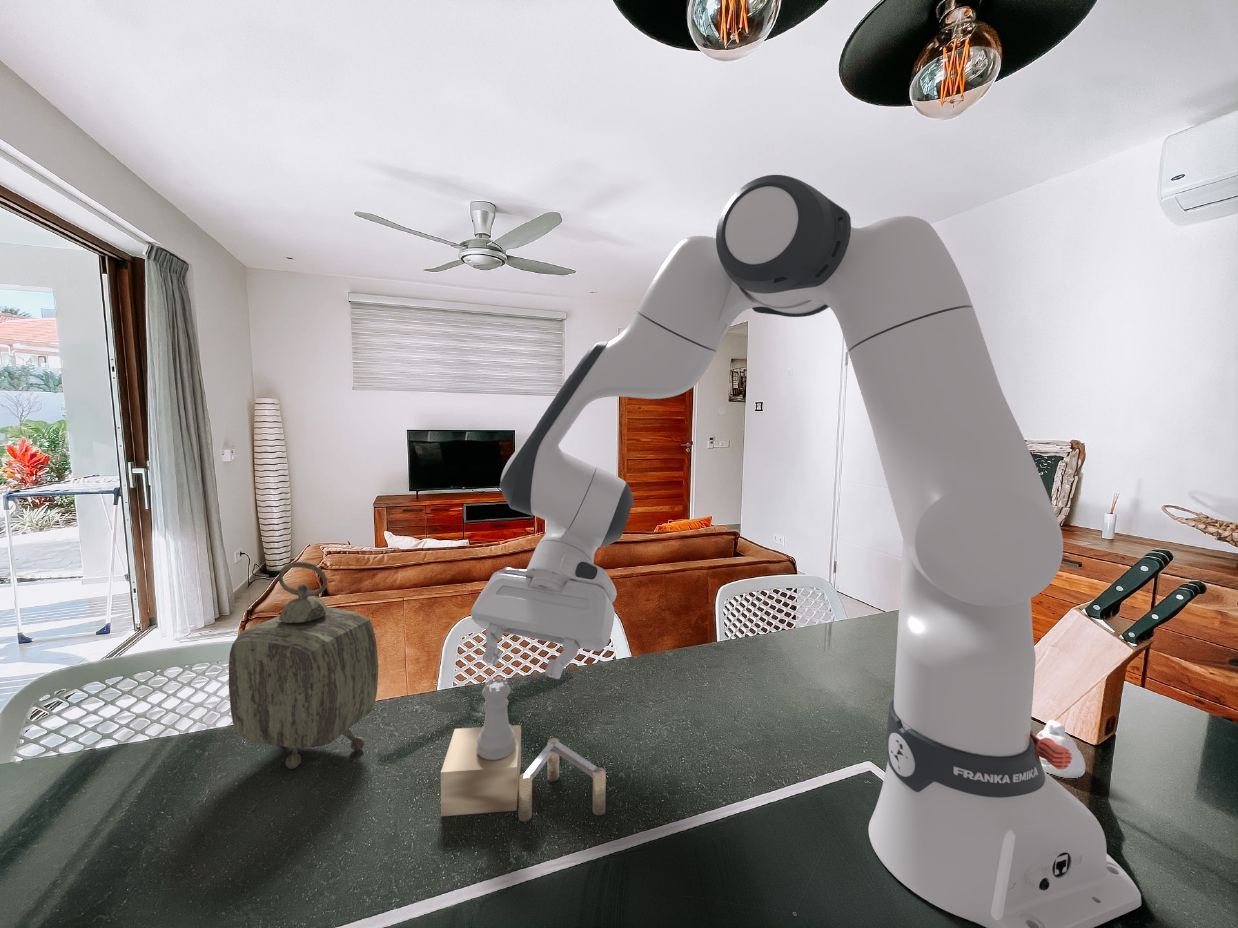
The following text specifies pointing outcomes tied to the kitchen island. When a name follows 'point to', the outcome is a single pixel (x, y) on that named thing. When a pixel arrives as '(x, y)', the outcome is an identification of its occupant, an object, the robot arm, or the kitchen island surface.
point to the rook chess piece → (496, 723)
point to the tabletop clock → (303, 673)
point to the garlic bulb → (1063, 739)
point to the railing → (552, 759)
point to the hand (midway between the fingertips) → (519, 669)
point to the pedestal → (478, 777)
